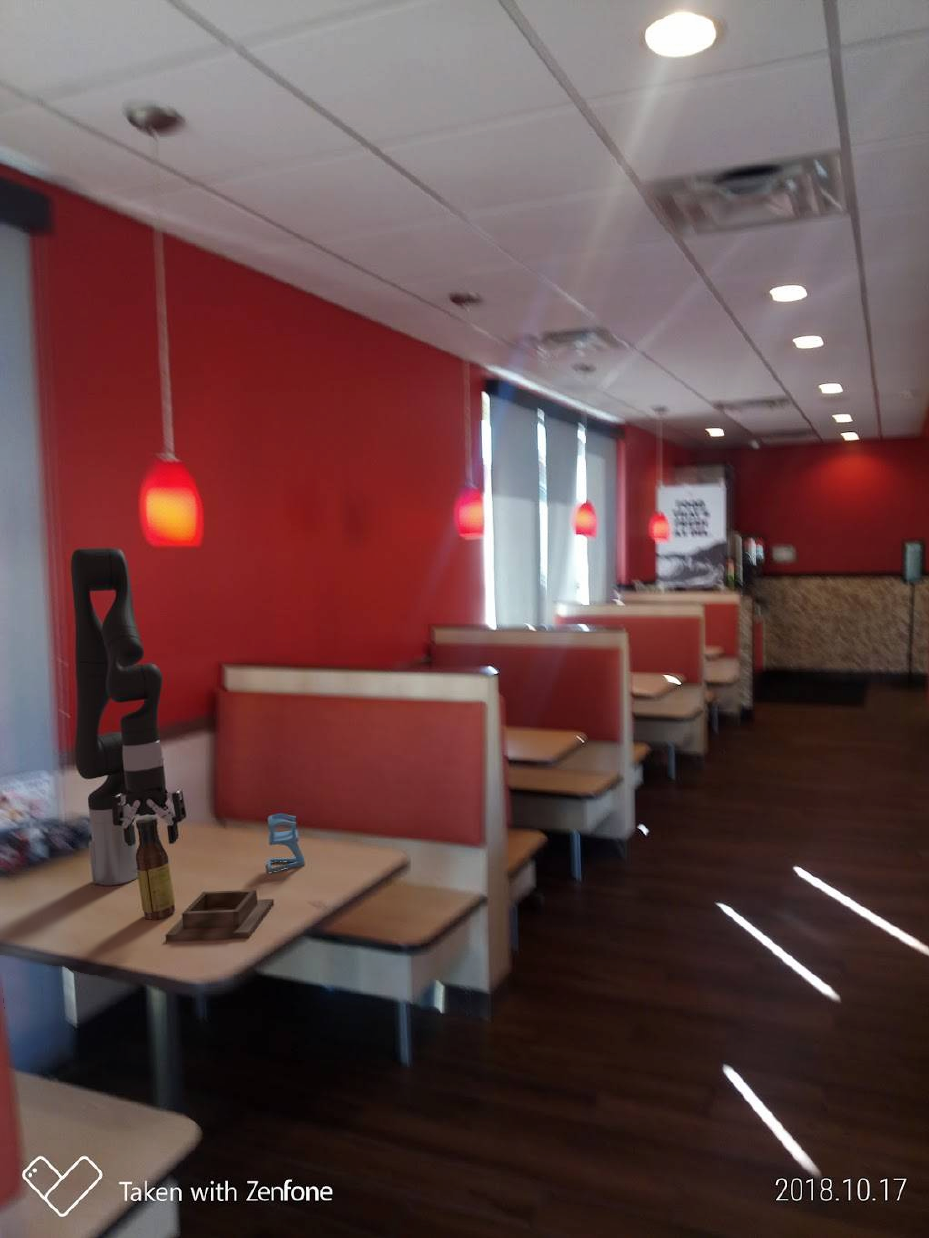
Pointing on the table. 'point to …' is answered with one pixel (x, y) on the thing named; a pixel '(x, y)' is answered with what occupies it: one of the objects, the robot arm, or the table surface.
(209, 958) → the table surface
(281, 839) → the chair
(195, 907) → the bottle caddy
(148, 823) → the sauce bottle
